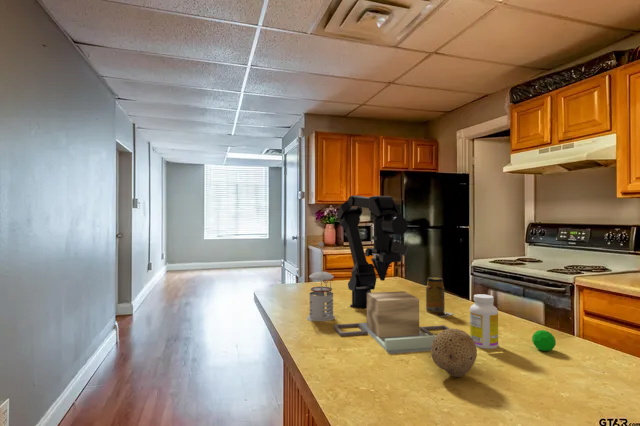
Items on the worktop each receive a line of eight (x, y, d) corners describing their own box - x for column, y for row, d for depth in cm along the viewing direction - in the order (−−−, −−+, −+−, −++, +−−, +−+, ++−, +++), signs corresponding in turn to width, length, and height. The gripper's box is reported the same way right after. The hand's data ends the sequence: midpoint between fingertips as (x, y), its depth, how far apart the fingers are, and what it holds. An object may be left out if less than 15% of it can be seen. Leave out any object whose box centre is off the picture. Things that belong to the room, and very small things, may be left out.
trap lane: (331, 326, 111) (331, 316, 111) (429, 320, 117) (429, 310, 117) (355, 358, 86) (355, 345, 86) (476, 348, 92) (476, 336, 92)
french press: (301, 320, 117) (301, 242, 117) (315, 311, 127) (315, 240, 127) (330, 324, 113) (330, 243, 113) (342, 314, 124) (342, 240, 124)
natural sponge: (452, 390, 70) (451, 338, 70) (421, 371, 79) (421, 325, 79) (486, 381, 74) (486, 332, 74) (454, 364, 82) (454, 320, 82)
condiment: (432, 309, 130) (432, 275, 130) (454, 314, 124) (454, 279, 124) (420, 312, 126) (420, 278, 126) (442, 318, 119) (442, 281, 119)
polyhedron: (527, 348, 92) (527, 329, 92) (540, 345, 94) (540, 327, 94) (546, 355, 88) (546, 335, 88) (560, 352, 90) (560, 332, 90)
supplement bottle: (496, 342, 96) (496, 294, 96) (500, 351, 90) (499, 299, 90) (469, 340, 98) (469, 292, 99) (470, 348, 92) (470, 297, 92)
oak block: (366, 326, 109) (366, 293, 109) (404, 323, 111) (404, 291, 111) (378, 337, 99) (378, 300, 99) (419, 334, 102) (419, 298, 102)
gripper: (417, 234, 113) (417, 284, 113) (394, 231, 132) (394, 275, 132) (383, 235, 111) (383, 286, 111) (364, 232, 130) (364, 276, 130)
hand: (382, 280), depth 121 cm, fingers closed
